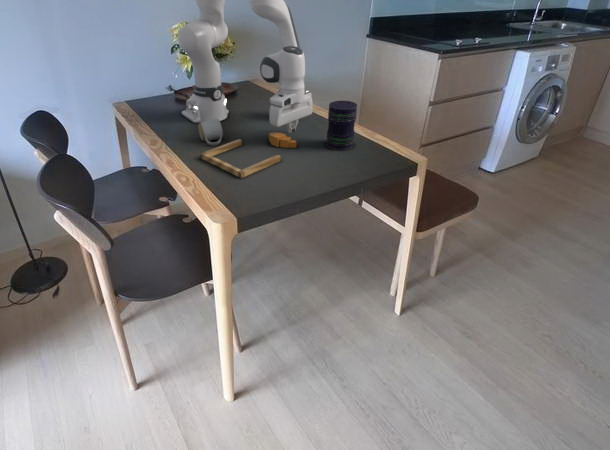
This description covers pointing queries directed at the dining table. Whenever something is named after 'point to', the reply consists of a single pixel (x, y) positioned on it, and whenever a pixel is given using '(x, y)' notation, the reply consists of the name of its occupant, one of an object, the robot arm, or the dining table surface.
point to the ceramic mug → (211, 131)
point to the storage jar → (341, 125)
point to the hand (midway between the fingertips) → (291, 131)
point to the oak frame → (231, 169)
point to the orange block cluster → (281, 140)
